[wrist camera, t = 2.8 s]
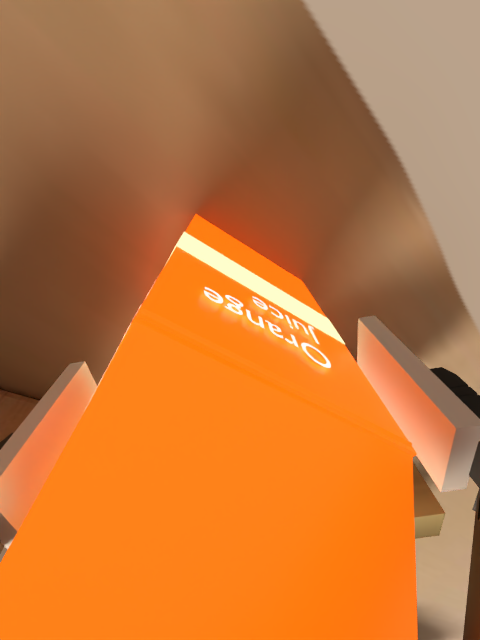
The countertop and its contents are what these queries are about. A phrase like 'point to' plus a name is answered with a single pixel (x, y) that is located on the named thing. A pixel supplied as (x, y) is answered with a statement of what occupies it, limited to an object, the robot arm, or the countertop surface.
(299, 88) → the countertop surface
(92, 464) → the orange juice
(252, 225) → the countertop surface
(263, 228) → the countertop surface
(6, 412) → the wooden block
